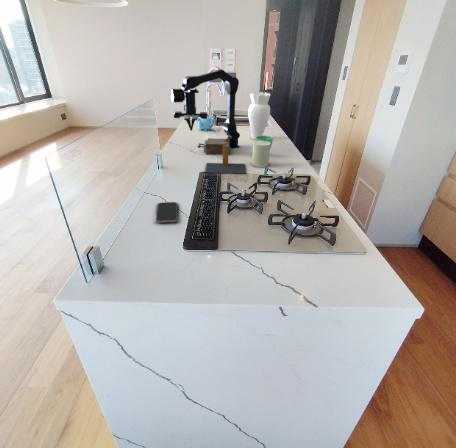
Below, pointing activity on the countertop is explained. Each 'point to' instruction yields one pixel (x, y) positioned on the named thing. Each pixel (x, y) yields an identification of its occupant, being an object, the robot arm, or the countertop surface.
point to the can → (261, 153)
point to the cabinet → (216, 146)
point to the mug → (265, 139)
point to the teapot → (205, 123)
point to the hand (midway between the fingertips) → (191, 130)
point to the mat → (225, 168)
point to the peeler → (225, 153)
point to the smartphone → (166, 212)
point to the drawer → (203, 146)
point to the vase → (258, 113)
